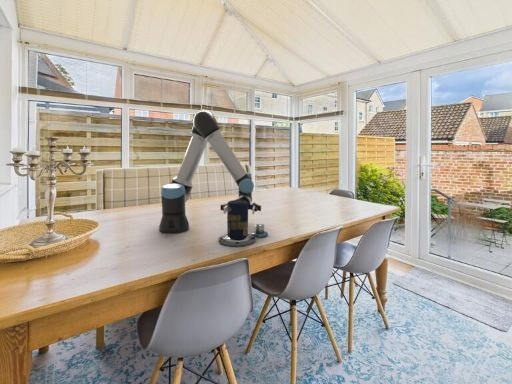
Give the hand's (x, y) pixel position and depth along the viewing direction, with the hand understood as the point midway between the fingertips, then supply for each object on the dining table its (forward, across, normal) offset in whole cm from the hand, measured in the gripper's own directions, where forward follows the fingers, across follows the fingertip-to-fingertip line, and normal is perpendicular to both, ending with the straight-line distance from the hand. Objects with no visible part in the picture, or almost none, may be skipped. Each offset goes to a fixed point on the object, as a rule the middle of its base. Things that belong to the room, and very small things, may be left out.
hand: (238, 211), depth 136 cm
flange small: (-5, -10, -13) cm, 17 cm away
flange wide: (+4, 0, -13) cm, 14 cm away
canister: (+4, 0, -12) cm, 12 cm away
